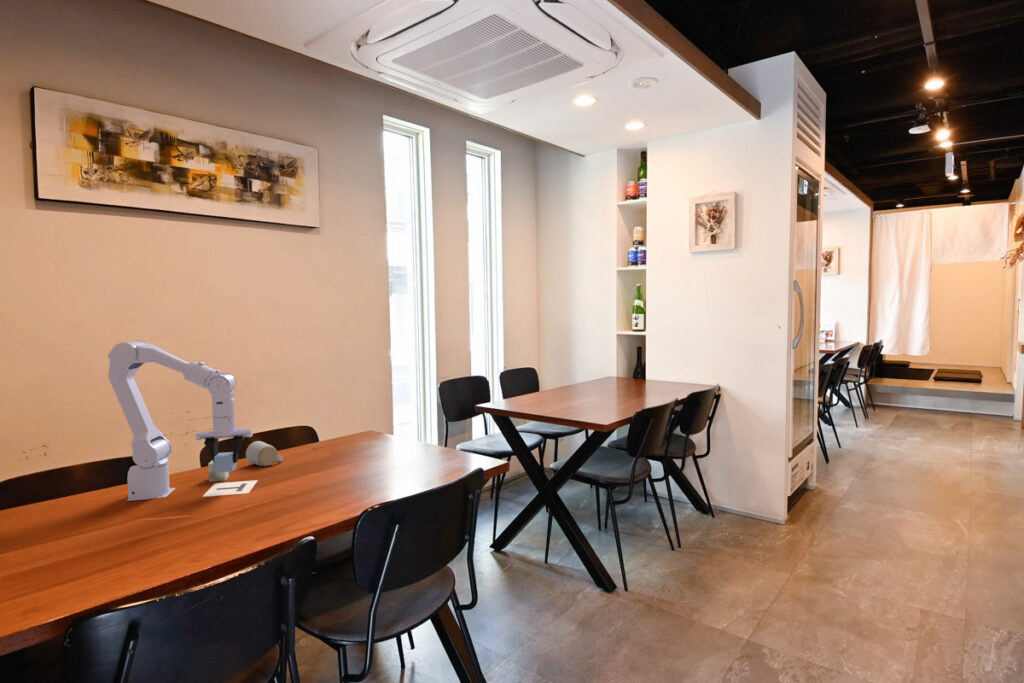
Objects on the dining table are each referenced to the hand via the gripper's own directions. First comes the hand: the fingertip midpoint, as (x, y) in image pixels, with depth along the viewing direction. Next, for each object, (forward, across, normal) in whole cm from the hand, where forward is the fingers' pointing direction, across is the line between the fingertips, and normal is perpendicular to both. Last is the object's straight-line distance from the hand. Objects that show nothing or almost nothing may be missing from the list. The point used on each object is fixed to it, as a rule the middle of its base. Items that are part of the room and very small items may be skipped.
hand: (225, 462), depth 161 cm
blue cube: (+2, 0, 0) cm, 2 cm away
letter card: (+8, -1, -2) cm, 9 cm away
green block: (+8, +5, -12) cm, 16 cm away
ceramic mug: (+9, -5, -28) cm, 29 cm away
